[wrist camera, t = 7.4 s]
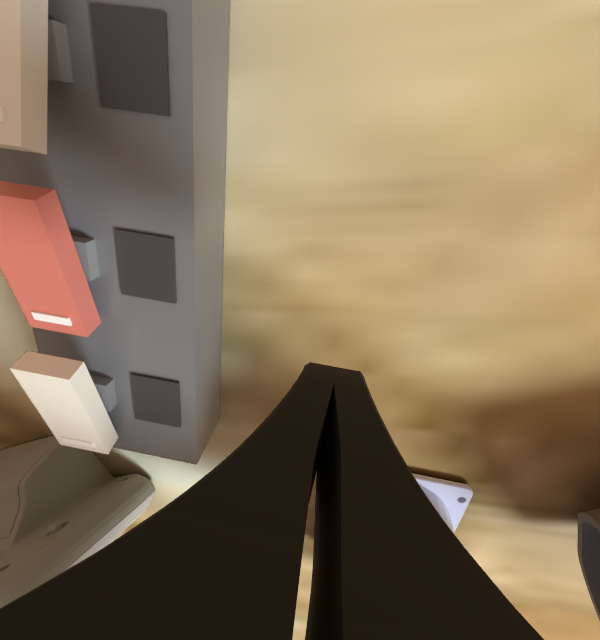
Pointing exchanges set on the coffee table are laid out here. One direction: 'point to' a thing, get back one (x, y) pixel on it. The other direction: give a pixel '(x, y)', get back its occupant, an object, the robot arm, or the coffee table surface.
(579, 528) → the bluetooth speaker
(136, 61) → the power strip
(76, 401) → the block
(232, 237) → the coffee table surface
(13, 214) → the plate
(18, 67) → the rocker
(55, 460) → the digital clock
